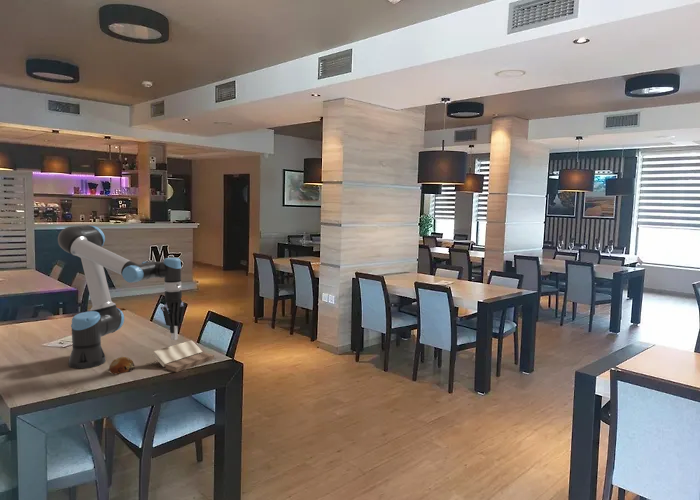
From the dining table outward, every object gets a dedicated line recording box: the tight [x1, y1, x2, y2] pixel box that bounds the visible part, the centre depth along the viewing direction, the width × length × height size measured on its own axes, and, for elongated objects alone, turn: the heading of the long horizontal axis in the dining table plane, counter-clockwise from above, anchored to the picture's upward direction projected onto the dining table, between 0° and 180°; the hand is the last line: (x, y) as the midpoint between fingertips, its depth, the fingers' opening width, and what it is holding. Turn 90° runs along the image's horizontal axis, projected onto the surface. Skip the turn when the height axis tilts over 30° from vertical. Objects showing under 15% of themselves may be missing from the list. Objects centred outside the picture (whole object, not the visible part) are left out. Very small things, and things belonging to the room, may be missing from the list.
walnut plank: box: [164, 352, 215, 373], centre depth 226 cm, size 22×8×2 cm, turn 149°
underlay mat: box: [146, 357, 216, 374], centre depth 230 cm, size 24×22×1 cm
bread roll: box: [109, 356, 135, 375], centre depth 217 cm, size 10×10×8 cm
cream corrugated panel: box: [152, 340, 203, 368], centre depth 230 cm, size 22×9×2 cm, turn 149°
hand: (174, 339), depth 231 cm, fingers closed
